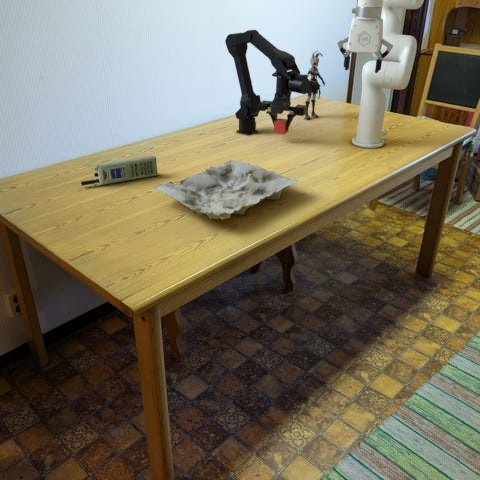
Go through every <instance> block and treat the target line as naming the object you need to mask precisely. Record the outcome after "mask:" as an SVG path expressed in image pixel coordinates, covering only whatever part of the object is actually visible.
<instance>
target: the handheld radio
mask: <svg viewBox="0 0 480 480" xmlns="http://www.w3.org/2000/svg"><path fill="white" fill-rule="evenodd" d="M157 164H158V163H157V156H156V155H147V156H141V157H140V156H139V157H134V158H127V159H121V160H115V161H108V162H101V163H96V164H93V167H94V168H93V171H97V172H95V173H94V174H93V175H94V177H96V179H90V180H83V181H82V180H81V181H80V185H81V186H88V185H93V184H94V185H96V186H97V187H98V186H99V187H100V186H105V185H109V184H115V183H121V182H128V181H134V180H139V179H144V178H151V177H156V176H158V175H159V174H158V165H157Z"/></svg>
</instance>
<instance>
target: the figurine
mask: <svg viewBox="0 0 480 480" xmlns="http://www.w3.org/2000/svg"><path fill="white" fill-rule="evenodd" d="M319 56H321V57H324V56H323V54H322V53H321V52H320V51H319V49H317V50H316V51H313V52H312V54H311V58H310V60H309V63H310V65H311V67H309V69H308V72H307V74H306V75H308V77H307V78H308V79H309V76H310V79H309V81H310V89H309V91H308V92H307V93H306V96H307V98H306V100H305V101H304V103H305V105H306V106H307V108H308V109H307V113H306V114H305V115H304V118H305V120H311V117H314V118H318V117H319V116H318V114H316V112H315V107H316V101H317V100H316V98H317V94H318V98H317V99H318V100H319V99H320V97H321V94H322V92H321V86H326V81H324V79H323V77H322V75H321V74H320V71H319V68H318V67H319V63H320V58H319ZM317 78H318V79H320V81H321V83H322V84H321V85H320V83H319V80H318V79H317ZM310 105H311V108H312V109H311V116H310V115H309V107H310Z"/></svg>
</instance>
